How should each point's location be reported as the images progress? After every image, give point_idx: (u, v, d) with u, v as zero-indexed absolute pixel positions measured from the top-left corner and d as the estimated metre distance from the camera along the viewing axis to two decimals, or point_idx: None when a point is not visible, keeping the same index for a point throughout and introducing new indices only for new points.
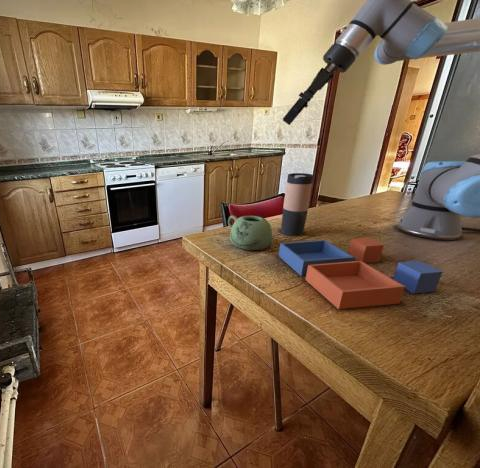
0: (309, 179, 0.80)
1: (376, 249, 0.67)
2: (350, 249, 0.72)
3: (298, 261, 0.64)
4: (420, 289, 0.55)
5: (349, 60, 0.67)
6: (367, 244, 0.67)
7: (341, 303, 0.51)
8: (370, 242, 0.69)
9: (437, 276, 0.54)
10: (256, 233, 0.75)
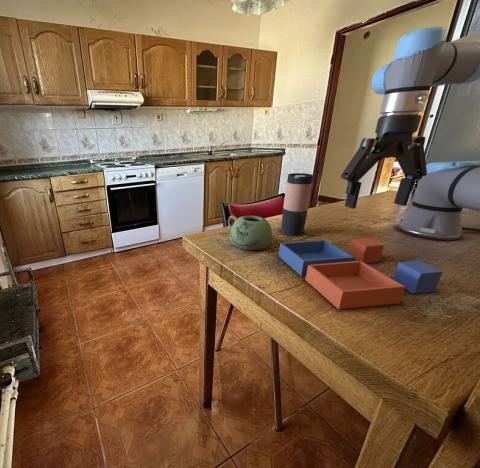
0: (309, 179, 0.80)
1: (376, 249, 0.67)
2: (350, 249, 0.72)
3: (298, 261, 0.64)
4: (420, 289, 0.55)
5: None
6: (367, 244, 0.67)
7: (341, 303, 0.51)
8: (370, 242, 0.69)
9: (437, 276, 0.54)
10: (256, 233, 0.75)
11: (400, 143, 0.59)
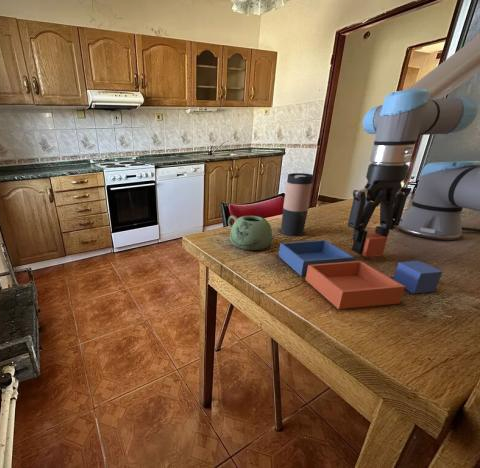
0: (309, 179, 0.80)
1: (379, 242, 0.66)
2: None
3: (298, 261, 0.64)
4: (420, 289, 0.55)
5: None
6: (370, 237, 0.67)
7: (341, 303, 0.51)
8: (373, 235, 0.68)
9: (437, 276, 0.54)
10: (256, 233, 0.75)
11: (390, 189, 0.62)
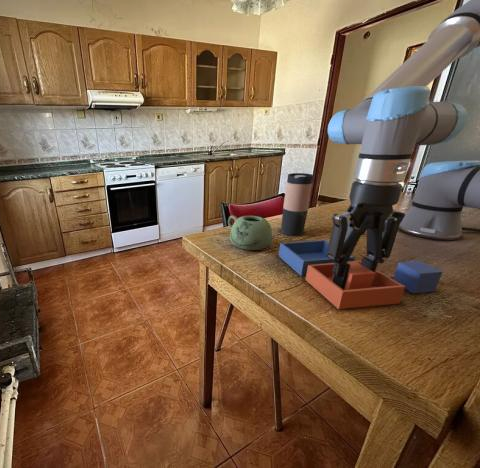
0: (309, 179, 0.80)
1: (365, 278, 0.53)
2: None
3: (298, 261, 0.64)
4: (420, 289, 0.55)
5: None
6: (354, 272, 0.53)
7: (341, 303, 0.51)
8: (358, 268, 0.55)
9: (437, 276, 0.54)
10: (256, 233, 0.75)
11: (378, 214, 0.49)
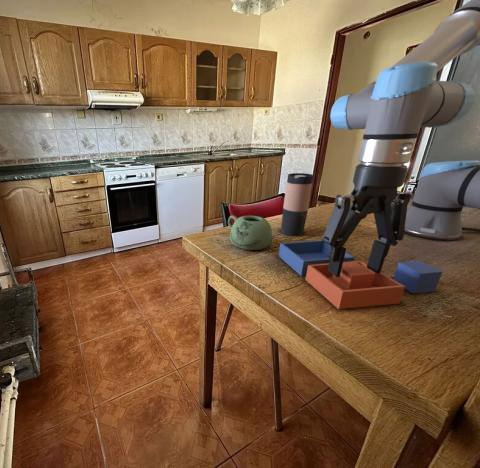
0: (309, 179, 0.80)
1: (365, 279, 0.53)
2: (334, 276, 0.58)
3: (298, 261, 0.64)
4: (420, 289, 0.55)
5: None
6: (354, 272, 0.53)
7: (341, 303, 0.51)
8: (358, 269, 0.55)
9: (437, 276, 0.54)
10: (256, 233, 0.75)
11: (383, 198, 0.48)
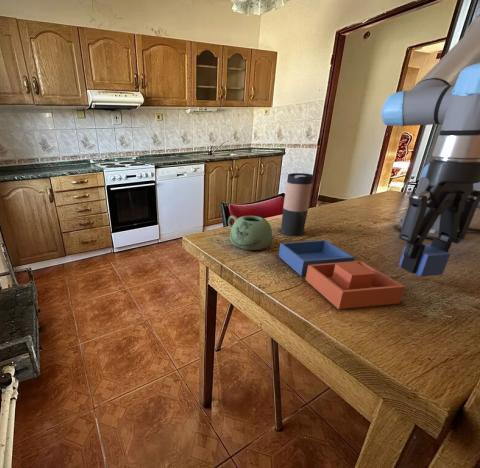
0: (309, 179, 0.80)
1: (365, 279, 0.53)
2: (334, 276, 0.58)
3: (298, 261, 0.64)
4: (427, 272, 0.54)
5: None
6: (354, 272, 0.53)
7: (341, 303, 0.51)
8: (358, 269, 0.55)
9: (445, 258, 0.53)
10: (256, 233, 0.75)
11: (459, 193, 0.49)
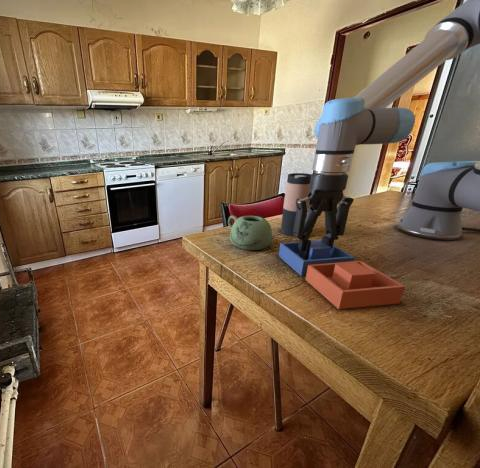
0: (309, 179, 0.80)
1: (365, 279, 0.53)
2: (334, 276, 0.58)
3: (298, 261, 0.64)
4: None
5: None
6: (354, 272, 0.53)
7: (341, 303, 0.51)
8: (358, 269, 0.55)
9: (327, 251, 0.65)
10: (256, 233, 0.75)
11: (331, 199, 0.61)
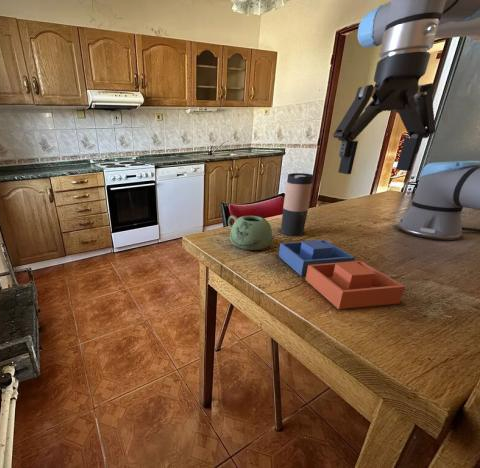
0: (309, 179, 0.80)
1: (365, 279, 0.53)
2: (334, 276, 0.58)
3: (298, 261, 0.64)
4: None
5: None
6: (354, 272, 0.53)
7: (341, 303, 0.51)
8: (358, 269, 0.55)
9: (328, 251, 0.65)
10: (256, 233, 0.75)
11: (404, 91, 0.49)
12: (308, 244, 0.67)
